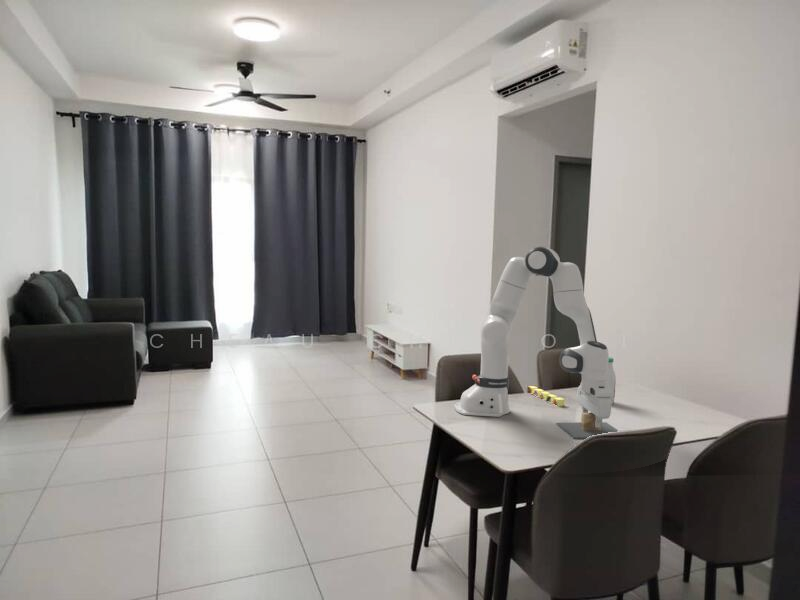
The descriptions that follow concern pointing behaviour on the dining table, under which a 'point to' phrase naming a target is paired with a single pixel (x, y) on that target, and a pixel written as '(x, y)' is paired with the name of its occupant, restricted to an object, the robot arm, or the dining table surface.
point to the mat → (577, 432)
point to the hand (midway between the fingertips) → (591, 422)
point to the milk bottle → (611, 378)
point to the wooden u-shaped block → (589, 422)
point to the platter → (546, 395)
